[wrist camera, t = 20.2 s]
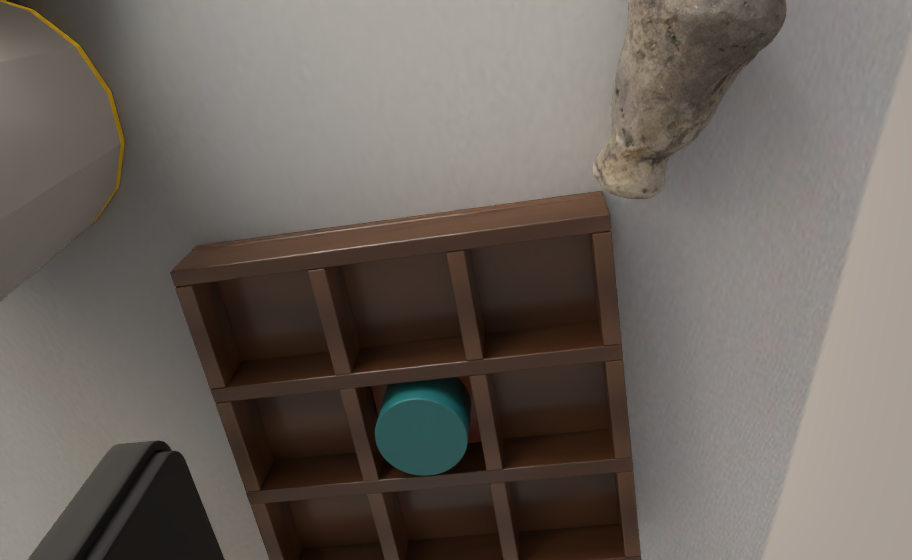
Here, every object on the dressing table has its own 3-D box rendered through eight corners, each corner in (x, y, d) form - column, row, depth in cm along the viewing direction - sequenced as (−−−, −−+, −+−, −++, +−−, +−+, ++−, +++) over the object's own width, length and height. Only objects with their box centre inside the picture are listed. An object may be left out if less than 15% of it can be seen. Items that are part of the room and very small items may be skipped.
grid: (195, 245, 37) (168, 271, 34) (602, 190, 34) (610, 213, 31) (295, 552, 45) (280, 594, 42) (633, 525, 42) (642, 568, 39)
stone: (637, 194, 35) (814, 188, 29) (559, 207, 32) (741, 202, 26) (624, -32, 34) (807, -88, 28) (541, -45, 30) (730, -113, 24)
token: (376, 370, 38) (365, 404, 35) (463, 360, 38) (459, 394, 35) (393, 442, 40) (384, 480, 37) (477, 434, 39) (474, 471, 37)
